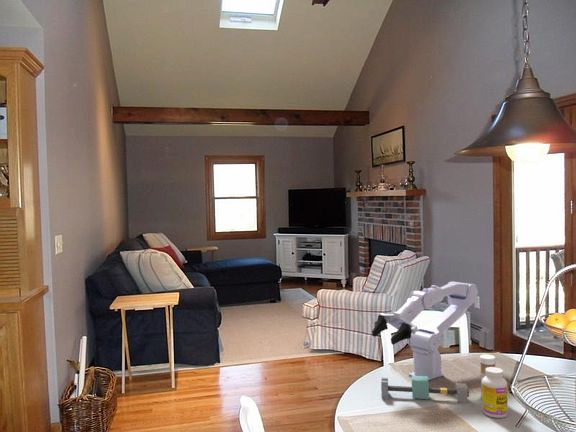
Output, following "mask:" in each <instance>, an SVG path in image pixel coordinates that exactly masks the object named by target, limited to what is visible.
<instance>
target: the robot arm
mask: <svg viewBox="0 0 576 432" xmlns="http://www.w3.org/2000/svg"><path fill="white" fill-rule="evenodd" d="M478 294H479V290H478V287H477V285H476V284H475V283H466V282H458V281H456V280H455V281H453V280H452V281H448V283H447V284H444V285H442V286H437V285H435V284H431V286H430V287H428V288H426V287H425V288H423V289H422V290H413V291H411V292H410V294H409V296H408V298H407V300H406V302H404V304H403V305H402V306H400V308H399V309H398V310H397V311H393V313H382V312H381V313H380V314H378V315H377V319H376V323H375V326H374V327H373V329H372V331H371V335H372V337H373V338H375V337H377V336H379V334H380V333H382V332H383V331H385V330H388V324H389V325H390V326H392V327H394V328H395V329H396V330H397V331H396V332H395V333H394V334H393V335H392V336H391V338H390V343H391V345H395V344H398V343H399V342H402V341H404V340H407V343H408V346H409V347H410V349H411V351H413V352H412V355H413V357H412V359H413V360H412V361H413V371H411V372H409V373H408V376H411V377H412V376H428V380H429V381H431V380H433V379H437V378H440V377H442V376H444V375H445V374H444V373H442V356H441V353H440V351H439V350H438V349H439V347H440V345H441V344H442V343H443V337H442V335H443V334H444V333H445V332H447V330H448V329H450V328H451V327H452V326H453V325H454V324H455V323H456V322H457V321H459V319H461V318H462V316H464V315H465V313H466V312H467V310H468V309H469V307H471V305H473V304H474V303H475V302H476V301H477V300H478ZM445 297H447V303H448V305H449V306H448V307H447V308H446V309H445V310H444V311H442V312H441V313H440V314H439V315H438V316H437V317H436V318H434V319H433V320H432V321H431V322H429V324H427V325H423V326H419V327H418V326H417V325H415V324H413V323H412V322H413V321H414V320H415V318H417V317H418V316H419V315H420V314H421V313H422V312H423V311H424V310H425V309H427V310H431V308H433V306H434V304H437V303H440V302H442V301H443V300H444V298H445Z"/></svg>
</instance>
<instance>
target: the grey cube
mask: <svg viewBox="0 0 576 432" xmlns="http://www.w3.org/2000/svg"><path fill="white" fill-rule="evenodd" d="M455 389H456V390H457V394H455V398H456V402H457V403H463V404H464V403H466V404H468V403H469V400H468V398H469V397H470V390H469V387H468V386H467V384H466V383H460V382H456V383H455Z"/></svg>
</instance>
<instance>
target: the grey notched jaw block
mask: <svg viewBox="0 0 576 432" xmlns="http://www.w3.org/2000/svg"><path fill="white" fill-rule="evenodd" d="M380 383H381V384H380V387H381V390H380V391H381V399H382V400H388V399H389V393H390V391H388V386H389V377H381V381H380Z"/></svg>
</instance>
